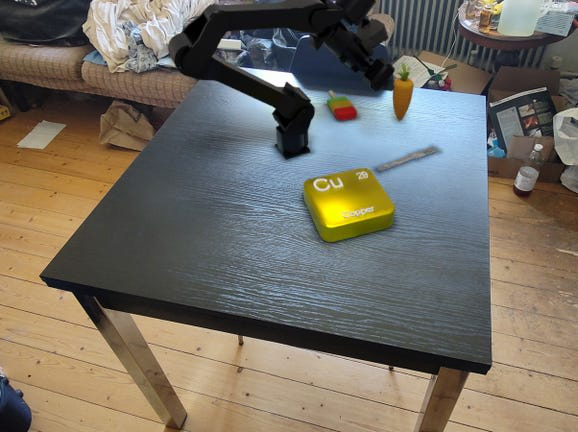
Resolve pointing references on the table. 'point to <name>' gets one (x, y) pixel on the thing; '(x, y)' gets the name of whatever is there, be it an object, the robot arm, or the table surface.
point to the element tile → (348, 204)
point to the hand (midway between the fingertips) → (382, 80)
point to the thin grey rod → (408, 158)
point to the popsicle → (341, 107)
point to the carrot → (402, 93)
